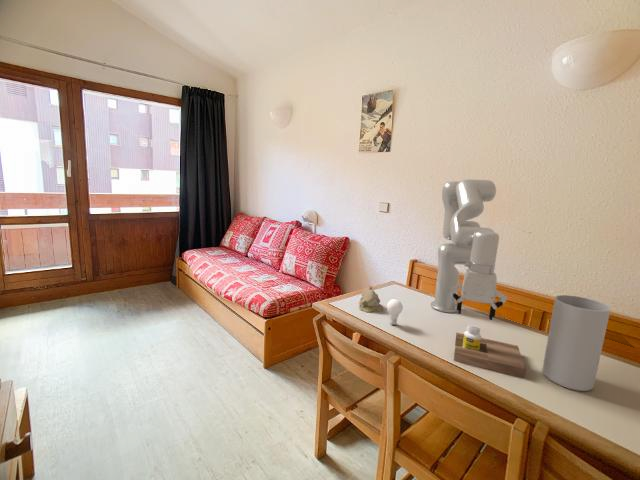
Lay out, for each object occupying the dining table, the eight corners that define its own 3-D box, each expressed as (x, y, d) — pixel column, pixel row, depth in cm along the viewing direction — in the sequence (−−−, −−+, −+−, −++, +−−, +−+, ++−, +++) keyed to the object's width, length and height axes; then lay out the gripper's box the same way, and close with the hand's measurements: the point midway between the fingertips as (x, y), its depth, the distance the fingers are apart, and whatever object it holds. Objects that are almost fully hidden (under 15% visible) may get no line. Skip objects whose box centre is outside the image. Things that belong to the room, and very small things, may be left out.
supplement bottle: (462, 355, 107) (465, 328, 105) (461, 347, 112) (464, 322, 110) (479, 358, 105) (483, 331, 103) (477, 350, 110) (481, 325, 108)
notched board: (455, 339, 117) (456, 332, 117) (516, 353, 109) (517, 345, 109) (453, 360, 103) (454, 352, 103) (523, 378, 95) (525, 369, 94)
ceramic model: (385, 312, 141) (387, 291, 139) (361, 313, 139) (363, 292, 137) (375, 301, 154) (377, 281, 153) (354, 301, 153) (355, 282, 151)
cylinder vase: (578, 396, 87) (595, 313, 83) (532, 371, 98) (546, 297, 94) (602, 386, 92) (619, 308, 88) (556, 364, 103) (570, 293, 99)
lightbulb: (395, 329, 124) (397, 303, 122) (382, 323, 129) (384, 298, 127) (404, 325, 128) (406, 300, 126) (391, 319, 133) (393, 295, 131)
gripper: (453, 266, 103) (447, 314, 106) (513, 275, 96) (504, 325, 99) (454, 261, 110) (448, 306, 113) (510, 269, 103) (502, 316, 106)
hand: (474, 315), depth 106 cm, fingers open, 9 cm apart
